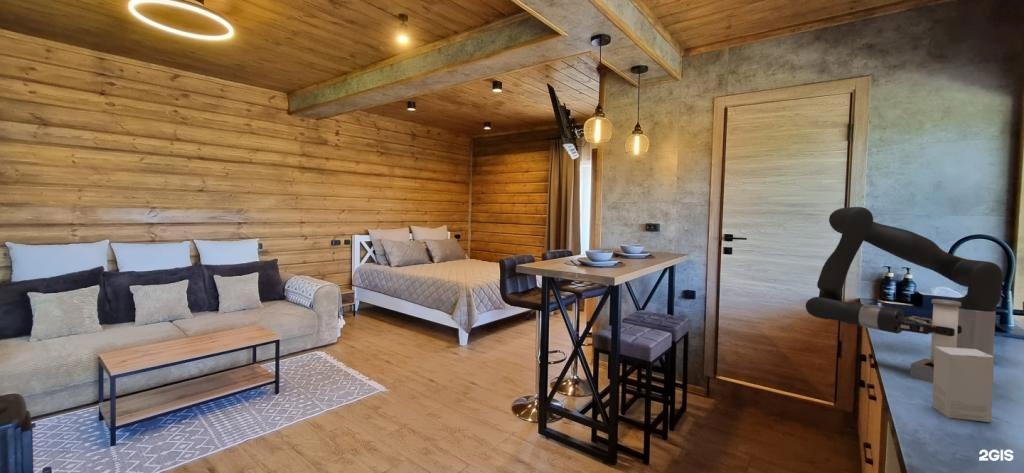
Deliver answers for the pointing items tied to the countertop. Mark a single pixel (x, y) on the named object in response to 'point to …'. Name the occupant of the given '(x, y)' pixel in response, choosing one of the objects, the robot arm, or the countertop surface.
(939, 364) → the skincare box
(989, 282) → the robot arm
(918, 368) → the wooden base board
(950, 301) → the plug
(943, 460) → the countertop surface
